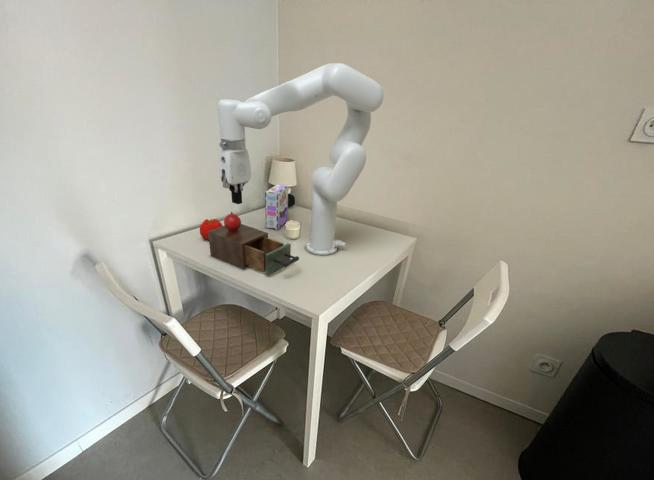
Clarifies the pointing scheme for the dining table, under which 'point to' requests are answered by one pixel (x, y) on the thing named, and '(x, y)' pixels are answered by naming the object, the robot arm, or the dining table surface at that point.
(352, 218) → the dining table surface
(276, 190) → the candy box
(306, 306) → the dining table surface
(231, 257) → the cabinet
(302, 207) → the dining table surface
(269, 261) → the drawer
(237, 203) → the robot arm
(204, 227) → the tomato
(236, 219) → the apple
